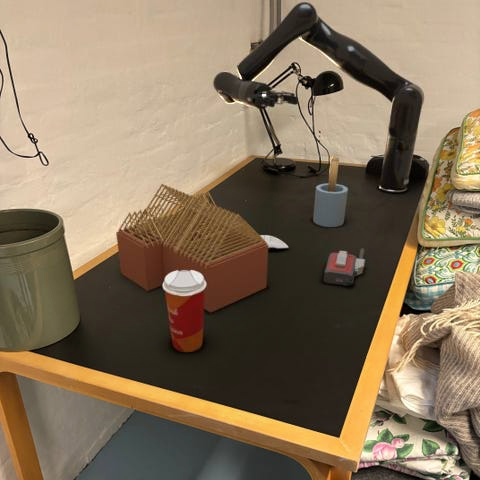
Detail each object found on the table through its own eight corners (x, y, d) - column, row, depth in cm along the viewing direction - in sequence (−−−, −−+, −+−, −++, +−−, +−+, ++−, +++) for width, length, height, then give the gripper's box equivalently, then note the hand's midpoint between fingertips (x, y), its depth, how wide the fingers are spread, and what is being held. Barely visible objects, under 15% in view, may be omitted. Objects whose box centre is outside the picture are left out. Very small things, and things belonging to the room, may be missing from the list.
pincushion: (289, 244, 134) (290, 224, 131) (287, 254, 129) (288, 233, 126) (244, 241, 136) (245, 221, 133) (241, 250, 131) (241, 230, 128)
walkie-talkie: (360, 290, 113) (366, 254, 129) (363, 273, 111) (368, 238, 127) (321, 285, 115) (331, 250, 131) (323, 268, 113) (333, 234, 129)
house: (120, 273, 119) (110, 193, 109) (197, 246, 133) (194, 173, 122) (193, 320, 102) (189, 231, 92) (273, 284, 115) (277, 203, 105)
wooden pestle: (321, 215, 151) (327, 153, 141) (336, 216, 150) (344, 154, 140) (319, 220, 147) (326, 157, 137) (335, 222, 146) (343, 158, 137)
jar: (314, 214, 153) (317, 182, 148) (344, 217, 152) (348, 184, 147) (311, 225, 146) (314, 191, 141) (343, 228, 144) (347, 194, 139)
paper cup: (168, 333, 98) (163, 268, 90) (207, 331, 98) (205, 267, 91) (166, 356, 91) (160, 289, 84) (208, 355, 92) (206, 288, 84)
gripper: (235, 83, 154) (266, 89, 143) (273, 80, 161) (305, 86, 149) (235, 109, 158) (265, 117, 147) (272, 105, 165) (303, 113, 153)
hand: (285, 102), depth 148 cm, fingers open, 8 cm apart
